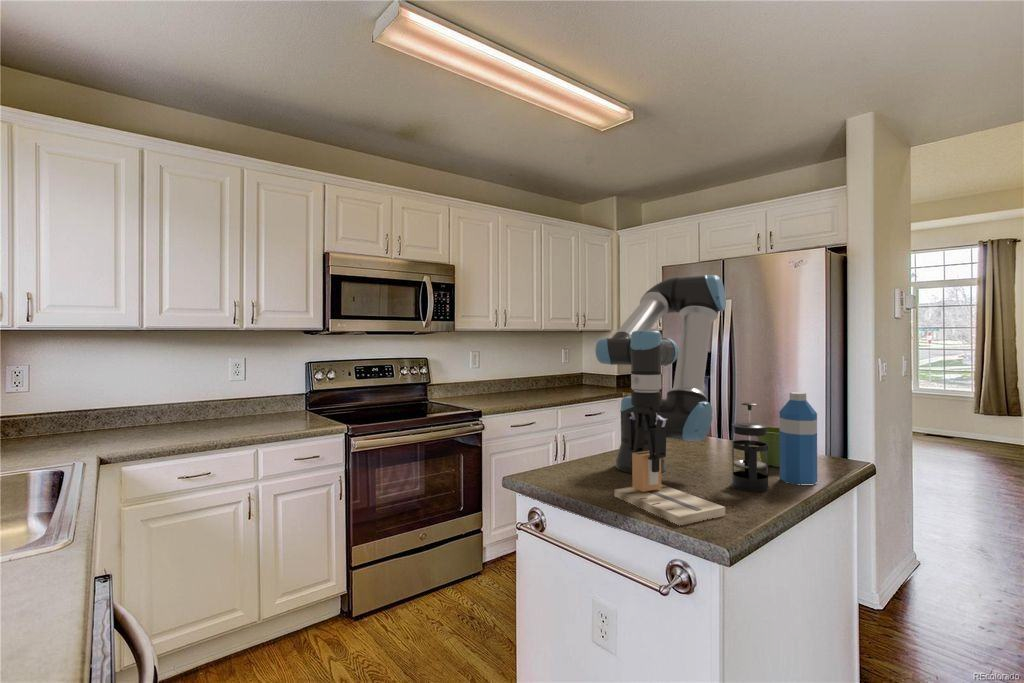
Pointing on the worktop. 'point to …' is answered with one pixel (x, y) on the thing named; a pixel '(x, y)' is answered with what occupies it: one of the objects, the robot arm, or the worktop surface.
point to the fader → (643, 472)
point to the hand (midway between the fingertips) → (646, 481)
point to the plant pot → (771, 446)
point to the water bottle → (798, 441)
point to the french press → (750, 457)
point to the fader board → (672, 504)
